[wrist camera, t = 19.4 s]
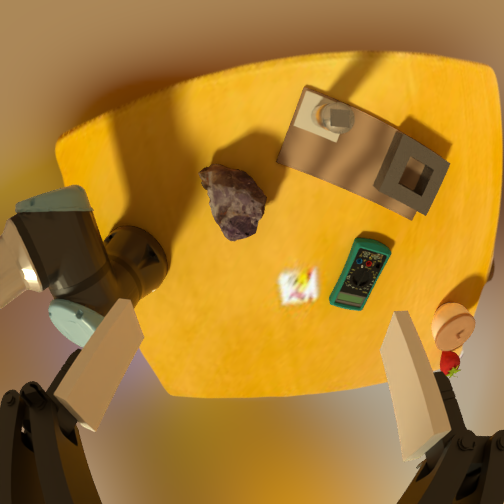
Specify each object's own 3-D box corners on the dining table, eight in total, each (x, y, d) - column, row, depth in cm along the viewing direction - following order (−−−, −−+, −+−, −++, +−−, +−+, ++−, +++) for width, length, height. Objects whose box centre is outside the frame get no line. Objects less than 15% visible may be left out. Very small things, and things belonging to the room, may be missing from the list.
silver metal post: (310, 105, 36) (323, 100, 23) (333, 106, 36) (357, 103, 23) (310, 126, 38) (323, 133, 25) (332, 127, 38) (357, 136, 24)
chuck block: (372, 185, 41) (378, 191, 39) (395, 131, 37) (403, 133, 34) (417, 208, 42) (425, 215, 39) (440, 159, 37) (450, 163, 34)
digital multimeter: (389, 243, 47) (394, 251, 44) (359, 305, 54) (361, 314, 52) (355, 233, 47) (359, 240, 44) (327, 297, 54) (328, 307, 52)
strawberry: (454, 338, 56) (467, 365, 47) (450, 355, 59) (461, 381, 50) (436, 344, 58) (448, 373, 49) (433, 361, 61) (443, 388, 52)
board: (276, 161, 42) (276, 162, 42) (303, 87, 36) (304, 86, 36) (410, 219, 44) (411, 220, 43) (439, 156, 37) (441, 157, 37)
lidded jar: (424, 304, 52) (439, 333, 44) (463, 287, 49) (480, 313, 41) (426, 334, 56) (437, 362, 48) (461, 319, 53) (475, 345, 45)
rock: (225, 224, 50) (278, 207, 47) (217, 253, 43) (278, 235, 40) (195, 168, 44) (251, 145, 41) (180, 190, 37) (246, 163, 34)
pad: (293, 125, 39) (293, 125, 38) (306, 90, 36) (306, 90, 35) (335, 142, 39) (336, 142, 39) (348, 108, 36) (349, 108, 36)
